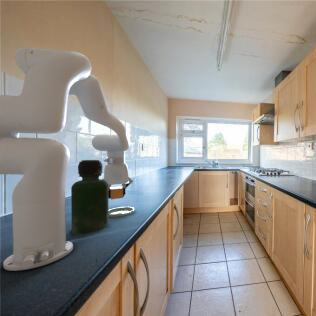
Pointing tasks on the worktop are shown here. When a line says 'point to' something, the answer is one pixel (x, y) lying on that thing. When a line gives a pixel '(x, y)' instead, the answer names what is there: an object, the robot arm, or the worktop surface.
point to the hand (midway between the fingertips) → (116, 196)
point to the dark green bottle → (89, 199)
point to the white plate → (120, 211)
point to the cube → (116, 192)
